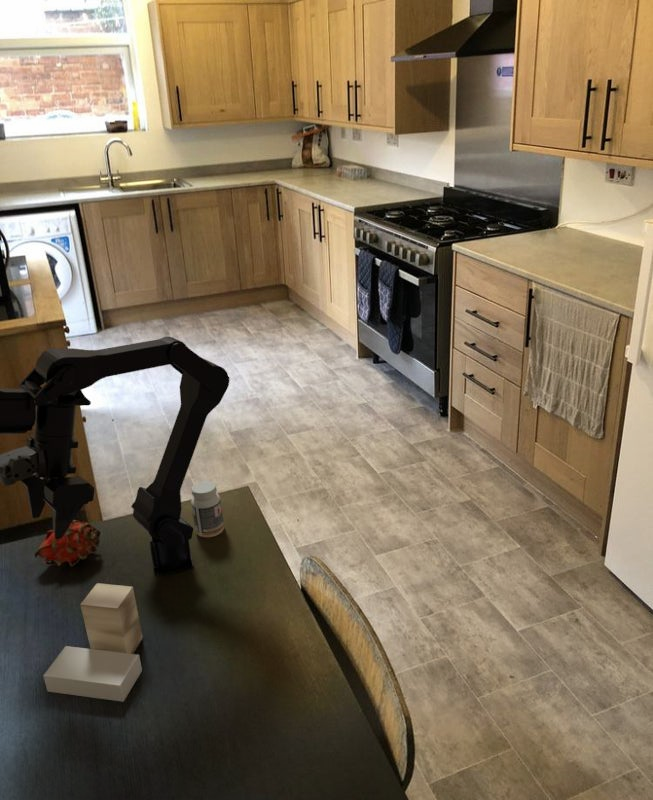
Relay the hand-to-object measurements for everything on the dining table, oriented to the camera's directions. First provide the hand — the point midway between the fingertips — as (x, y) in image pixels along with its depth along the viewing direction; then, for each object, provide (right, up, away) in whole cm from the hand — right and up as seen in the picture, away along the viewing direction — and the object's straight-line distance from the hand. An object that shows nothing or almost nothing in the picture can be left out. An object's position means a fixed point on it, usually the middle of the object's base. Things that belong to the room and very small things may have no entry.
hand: (46, 527), depth 110 cm
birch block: (+12, -18, -1) cm, 22 cm away
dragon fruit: (-4, -10, +21) cm, 24 cm away
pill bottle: (+21, -6, +28) cm, 35 cm away
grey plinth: (+10, -21, -7) cm, 25 cm away
